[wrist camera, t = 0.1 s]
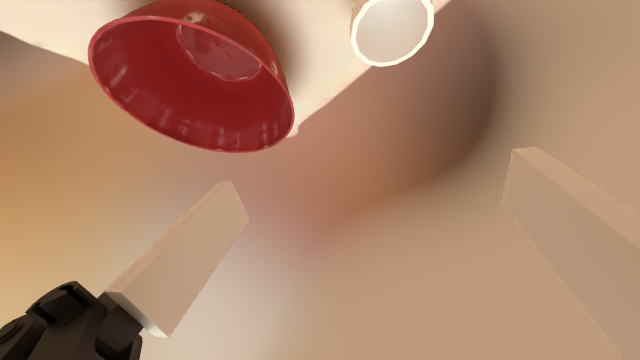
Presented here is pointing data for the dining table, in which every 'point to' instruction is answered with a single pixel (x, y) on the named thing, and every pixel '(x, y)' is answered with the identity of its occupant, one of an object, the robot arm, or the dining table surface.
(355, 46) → the foam cup
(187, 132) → the mixing bowl
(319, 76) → the dining table surface
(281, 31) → the dining table surface
